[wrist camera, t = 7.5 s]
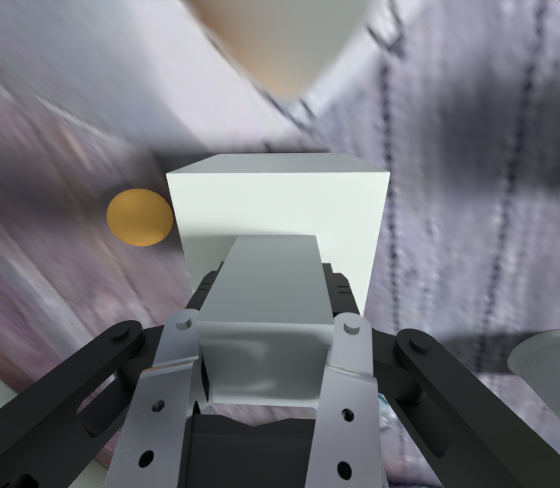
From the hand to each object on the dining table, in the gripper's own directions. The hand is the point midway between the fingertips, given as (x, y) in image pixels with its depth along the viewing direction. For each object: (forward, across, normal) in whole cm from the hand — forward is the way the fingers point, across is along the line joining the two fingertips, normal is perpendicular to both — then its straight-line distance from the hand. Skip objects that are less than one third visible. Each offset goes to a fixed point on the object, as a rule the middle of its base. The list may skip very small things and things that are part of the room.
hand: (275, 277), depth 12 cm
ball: (+9, +12, 0) cm, 15 cm away
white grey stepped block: (+10, 0, 0) cm, 10 cm away
